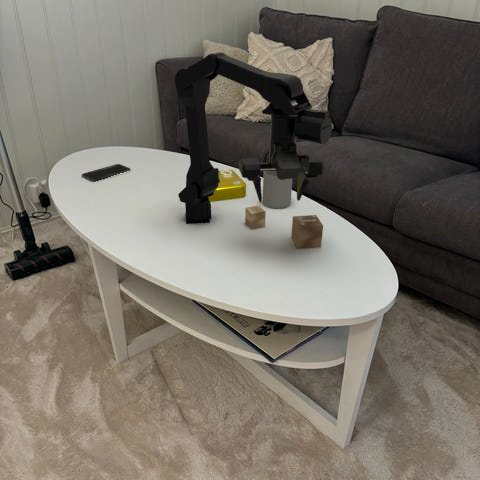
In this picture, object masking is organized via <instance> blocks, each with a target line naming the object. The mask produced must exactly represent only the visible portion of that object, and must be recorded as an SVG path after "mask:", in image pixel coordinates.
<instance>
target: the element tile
mask: <svg viewBox="0 0 480 480" xmlns="http://www.w3.org/2000/svg"><path fill="white" fill-rule="evenodd" d="M219 180H220V183H218V188H217V189H216V190H215V191H214V194H213V195H212V196H210V197H208V198H209V201H210V202H211V203H214V202H220V201H229V200H236V199H238V200H239V199H244V198H245V197H246V196H247V183H246V182H245V181H244V180H243V179H242V178H241V177H240V176H239V174H237V173H236V172H235V171H234V170H232V169H225V170H219Z"/></svg>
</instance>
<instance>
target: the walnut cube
mask: <svg viewBox="0 0 480 480" xmlns="http://www.w3.org/2000/svg"><path fill="white" fill-rule="evenodd" d="M291 223H292V225H291V236H290V237H291V239H292V241H293V243H294V245H295V248H296V249H297V250H298V249H299V250H300V249H301V250H303V249H317V248H318V249H319V248H322V241H323V232H324V225H323V223H322V222H321V220H320V219H319V217H318V216H317V214H310V215H294V216H292V221H291Z"/></svg>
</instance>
